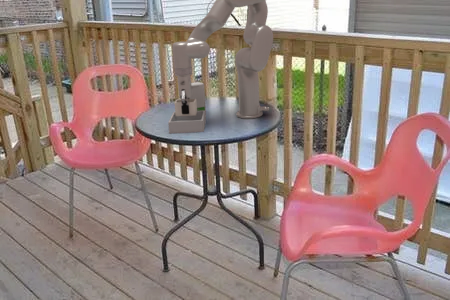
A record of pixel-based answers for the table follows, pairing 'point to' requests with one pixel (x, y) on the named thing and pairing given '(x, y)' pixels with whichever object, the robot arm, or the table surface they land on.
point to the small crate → (192, 107)
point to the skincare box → (199, 95)
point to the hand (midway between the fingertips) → (186, 111)
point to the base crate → (187, 123)
